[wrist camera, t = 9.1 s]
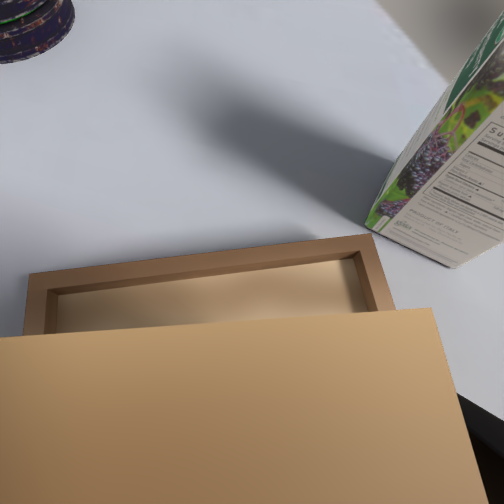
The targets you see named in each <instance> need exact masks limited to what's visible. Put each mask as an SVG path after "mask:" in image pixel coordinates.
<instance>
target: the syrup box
mask: <svg viewBox="0 0 504 504" xmlns="http://www.w3.org/2000/svg"><path fill="white" fill-rule="evenodd" d="M365 226H366V227H367V228H369V229H371V230H373V231H375V232H377V233H379V234H381V235H384V236H386V237H388V238H390V239H392V240H394V241H396V242H398V243H400V244H402V245H404V246H406V247H408V248H410V249H413V250H415V251H417V252H419V253H421V254H423V255H425V256H427V257H430V258H432V259H434V260H436V261H438V262H440V263H442V264H444V265H446V266H449V267H451V268H453V269H456V268H458V267H460V266H462V265H464V264H466V263H467V262H469V261H471V260H473V259H474V258H476V257H478V256H480V255H481V254H483V253H485V252H487V251H489V250H491V249H492V248H494V247H497V246H498V245H500V244H501V243H503V242H504V11H503V12H502V13H501V15H500V16H499V18H498V19H497V20H496V22H495V23H494V24H493V26H492V27H491V28H490V30H489V31H488V33H487V34H486V35H485V37H484V38H483V39H482V41H481V42H480V44H479V45H478V46H477V48H476V49H475V50H474V52H473V53H472V54H471V56H470V57H469V59H468V60H467V61H466V63H465V64H464V66H463V67H462V68H461V70H460V71H459V72H458V74H457V75H456V77H455V78H454V79H453V81H452V82H451V83H450V85H449V86H448V87H447V89H446V90H445V92H444V93H443V94H442V96H441V97H440V99H439V100H438V101H437V103H436V104H435V106H434V107H433V109H432V110H431V111H430V113H429V114H428V115H427V117H426V118H425V120H424V121H423V123H422V124H421V125H420V127H419V128H418V130H417V131H416V132H415V134H414V135H413V137H412V138H411V140H410V141H409V143H408V144H407V146H406V147H405V148H404V150H403V151H402V153H401V154H400V155H399V157H398V158H397V160H396V161H395V163H394V165H393V167H392V168H391V170H390V172H389V174H388V176H387V178H386V180H385V181H384V183H383V186H382V188H381V190H380V192H379V194H378V196H377V198H376V200H375V202H374V204H373V206H372V208H371V211H370V213H369V215H368V217H367V219H366V221H365Z"/></svg>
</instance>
